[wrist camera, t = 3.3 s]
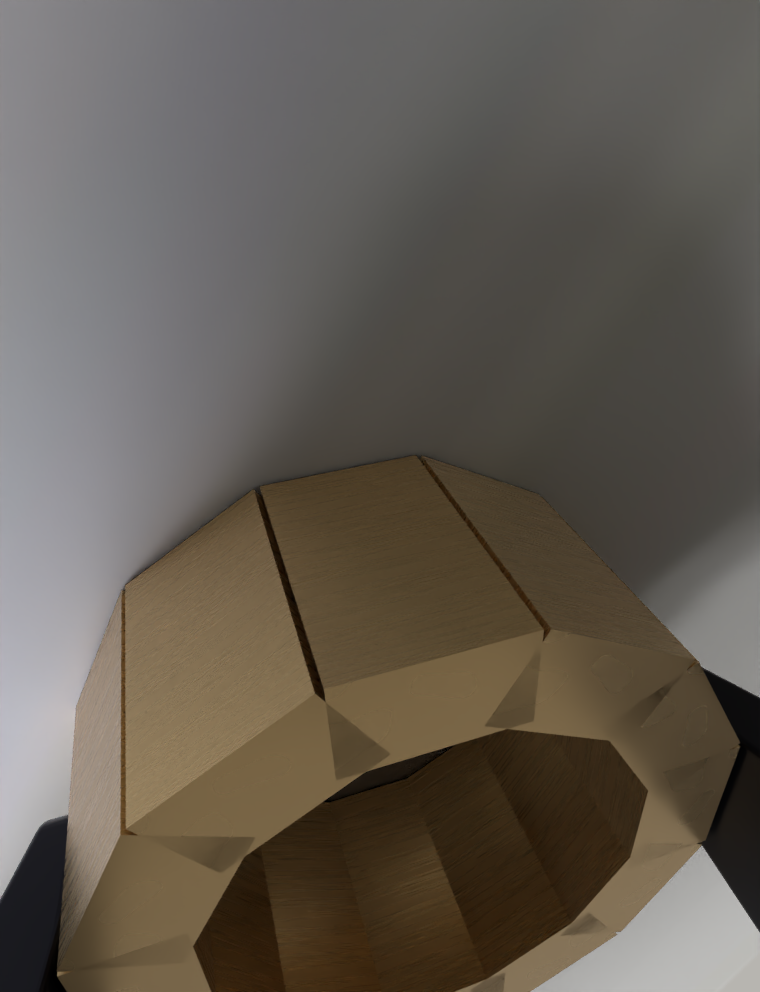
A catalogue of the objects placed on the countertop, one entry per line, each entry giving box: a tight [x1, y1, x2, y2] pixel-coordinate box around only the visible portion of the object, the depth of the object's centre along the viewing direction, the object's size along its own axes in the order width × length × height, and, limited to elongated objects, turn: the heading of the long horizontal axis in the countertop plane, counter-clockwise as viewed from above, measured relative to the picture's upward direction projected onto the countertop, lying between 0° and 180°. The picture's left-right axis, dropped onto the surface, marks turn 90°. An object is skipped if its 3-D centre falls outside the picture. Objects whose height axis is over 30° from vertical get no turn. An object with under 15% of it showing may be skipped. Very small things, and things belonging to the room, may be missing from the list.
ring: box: [57, 455, 740, 992], centre depth 8 cm, size 7×7×3 cm
